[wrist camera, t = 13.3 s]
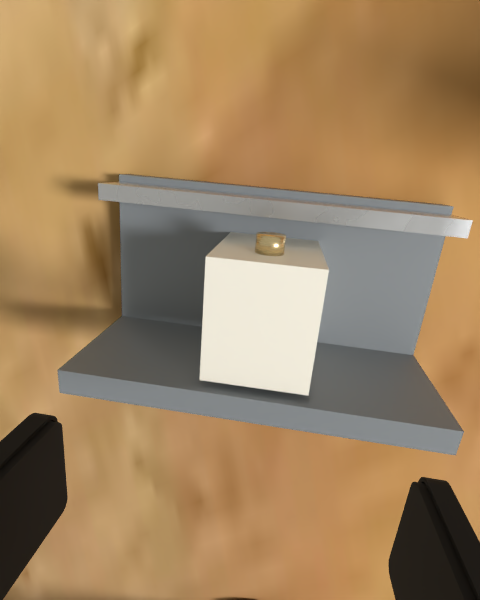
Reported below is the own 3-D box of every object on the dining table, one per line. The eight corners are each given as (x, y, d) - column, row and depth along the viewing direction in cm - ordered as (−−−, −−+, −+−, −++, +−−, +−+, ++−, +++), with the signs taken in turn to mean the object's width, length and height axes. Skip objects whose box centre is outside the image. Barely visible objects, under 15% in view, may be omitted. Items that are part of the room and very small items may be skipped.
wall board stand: (402, 363, 29) (455, 455, 20) (130, 326, 31) (59, 392, 22) (444, 204, 25) (536, 224, 16) (128, 174, 27) (40, 175, 18)
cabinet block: (304, 334, 28) (308, 395, 20) (224, 324, 28) (199, 379, 21) (320, 226, 25) (332, 249, 17) (231, 217, 26) (206, 236, 18)
